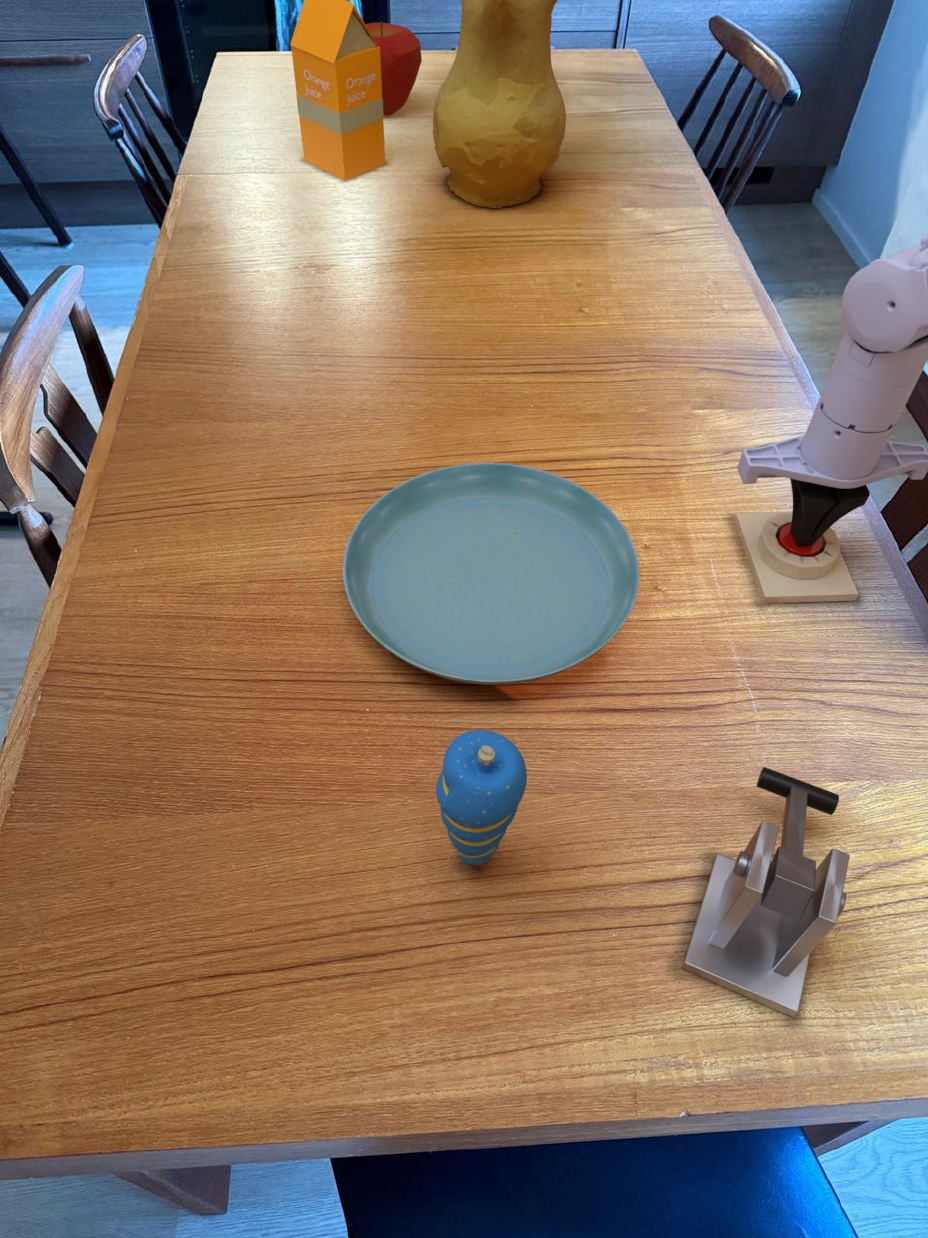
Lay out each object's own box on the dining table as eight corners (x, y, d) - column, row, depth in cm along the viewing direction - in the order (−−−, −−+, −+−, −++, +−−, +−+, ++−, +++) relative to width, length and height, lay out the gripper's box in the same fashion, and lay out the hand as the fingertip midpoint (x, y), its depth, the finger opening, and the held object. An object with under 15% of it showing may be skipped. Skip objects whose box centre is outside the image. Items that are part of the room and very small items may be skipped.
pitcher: (402, 184, 121) (408, -40, 102) (490, 147, 131) (510, -63, 112) (500, 231, 114) (526, 1, 95) (585, 189, 124) (623, -27, 105)
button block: (855, 601, 75) (866, 581, 74) (762, 603, 75) (770, 583, 73) (819, 517, 82) (828, 497, 80) (733, 519, 81) (740, 499, 79)
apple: (436, 110, 137) (435, 20, 128) (386, 132, 132) (382, 39, 123) (384, 90, 142) (380, 1, 132) (334, 110, 136) (327, 19, 127)
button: (822, 565, 77) (828, 552, 75) (781, 566, 76) (786, 554, 75) (809, 535, 79) (815, 522, 78) (769, 536, 79) (774, 523, 78)
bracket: (713, 858, 61) (752, 788, 53) (817, 901, 59) (873, 834, 51) (681, 968, 56) (718, 908, 48) (793, 1018, 54) (850, 963, 47)
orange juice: (345, 143, 129) (331, -21, 114) (386, 163, 125) (378, -4, 110) (302, 160, 126) (283, -8, 110) (344, 181, 122) (330, 11, 106)
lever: (754, 785, 61) (767, 757, 60) (828, 813, 60) (842, 785, 59) (735, 896, 51) (750, 864, 50) (824, 933, 50) (840, 901, 49)
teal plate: (426, 459, 86) (426, 431, 83) (669, 540, 80) (676, 513, 77) (290, 637, 72) (284, 610, 69) (571, 752, 66) (576, 727, 63)
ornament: (452, 816, 62) (455, 693, 51) (523, 840, 61) (543, 720, 50) (425, 883, 59) (422, 769, 47) (500, 910, 58) (515, 799, 46)
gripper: (932, 374, 69) (867, 503, 79) (747, 377, 68) (706, 507, 79) (970, 432, 64) (896, 561, 75) (773, 437, 64) (726, 567, 74)
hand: (800, 538), depth 77 cm, fingers closed, pressing on button
